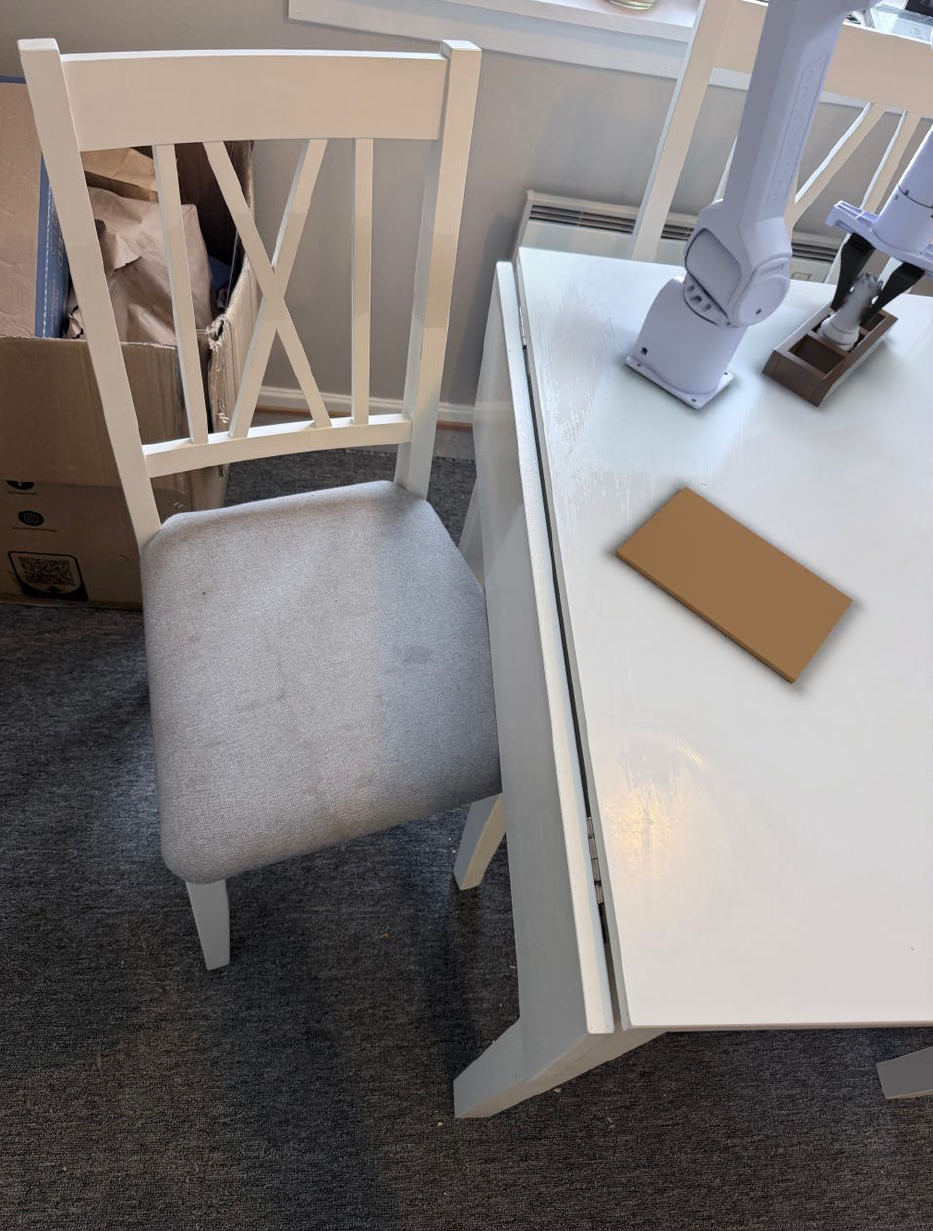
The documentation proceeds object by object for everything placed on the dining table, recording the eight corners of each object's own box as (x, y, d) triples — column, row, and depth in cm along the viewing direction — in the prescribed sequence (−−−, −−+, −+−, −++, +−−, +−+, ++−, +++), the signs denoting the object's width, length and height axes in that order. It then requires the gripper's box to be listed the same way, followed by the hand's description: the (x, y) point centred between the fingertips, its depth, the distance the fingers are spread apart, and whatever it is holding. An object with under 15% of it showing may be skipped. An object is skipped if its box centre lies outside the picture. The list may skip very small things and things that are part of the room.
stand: (761, 371, 93) (773, 349, 91) (831, 309, 103) (844, 287, 101) (818, 407, 91) (832, 385, 89) (884, 339, 101) (898, 318, 99)
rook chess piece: (853, 358, 94) (894, 296, 88) (815, 348, 94) (854, 284, 88) (850, 336, 97) (890, 273, 91) (813, 325, 97) (850, 262, 91)
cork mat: (615, 554, 73) (616, 550, 73) (683, 489, 79) (685, 485, 79) (792, 683, 68) (795, 680, 68) (850, 603, 75) (853, 599, 74)
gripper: (1006, 217, 82) (921, 334, 93) (875, 150, 86) (809, 270, 97) (984, 239, 78) (899, 359, 89) (848, 168, 82) (782, 291, 93)
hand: (850, 314), depth 93 cm, fingers closed on rook chess piece, 3 cm apart
